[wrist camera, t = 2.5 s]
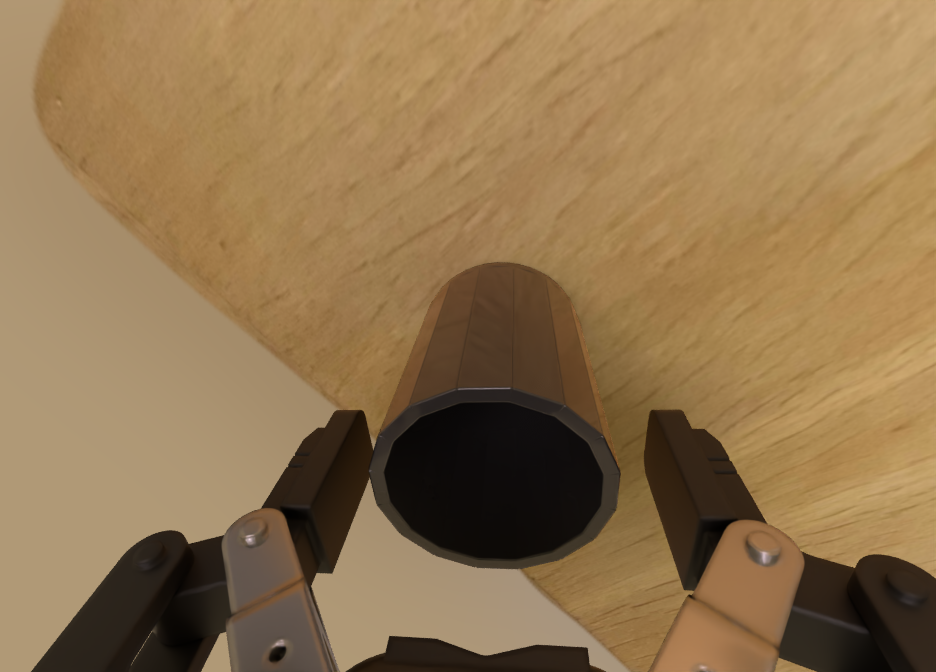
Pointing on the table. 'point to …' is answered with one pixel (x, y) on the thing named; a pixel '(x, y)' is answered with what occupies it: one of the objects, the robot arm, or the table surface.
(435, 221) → the table surface
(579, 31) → the table surface
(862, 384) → the table surface
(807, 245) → the table surface
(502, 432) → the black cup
